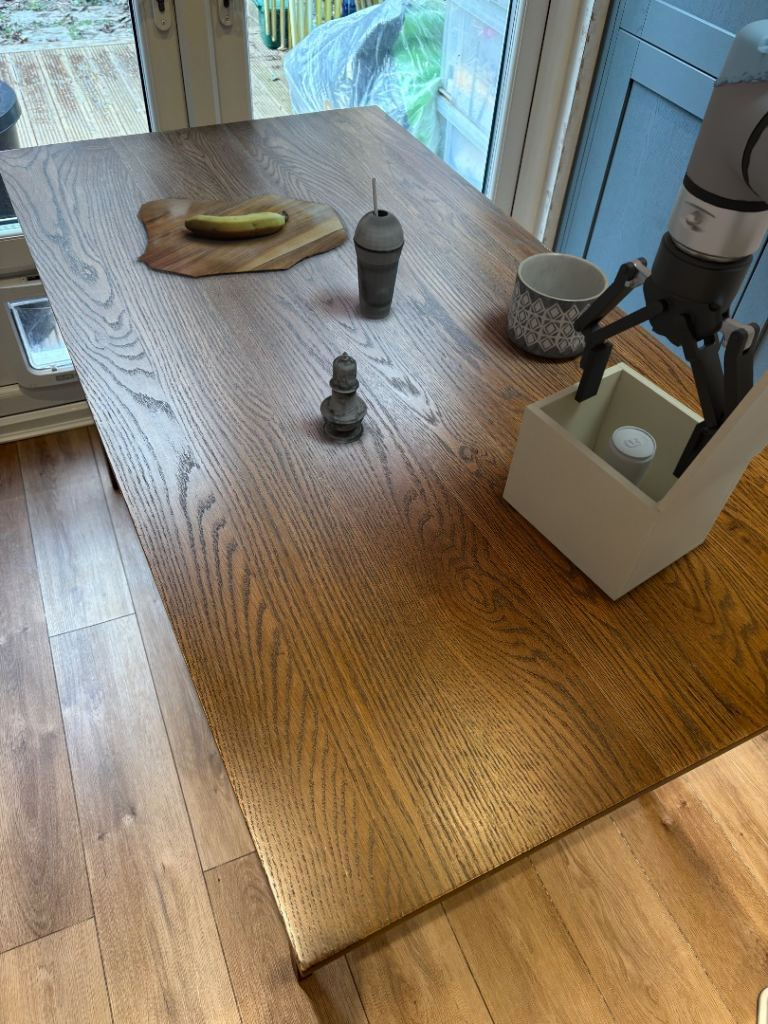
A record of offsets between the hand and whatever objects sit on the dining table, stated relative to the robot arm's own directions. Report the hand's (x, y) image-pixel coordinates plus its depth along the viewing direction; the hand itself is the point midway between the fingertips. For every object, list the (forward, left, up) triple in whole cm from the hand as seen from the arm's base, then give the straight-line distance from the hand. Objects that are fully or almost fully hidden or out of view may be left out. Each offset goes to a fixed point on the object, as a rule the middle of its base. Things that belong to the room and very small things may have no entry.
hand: (632, 432), depth 78 cm
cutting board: (+80, +4, -13) cm, 81 cm away
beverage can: (0, 0, -12) cm, 12 cm away
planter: (+30, -20, -13) cm, 38 cm away
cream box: (0, 0, -13) cm, 13 cm away
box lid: (-11, 0, +11) cm, 15 cm away
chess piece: (+29, +17, -13) cm, 36 cm away
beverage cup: (+49, -2, -13) cm, 50 cm away
